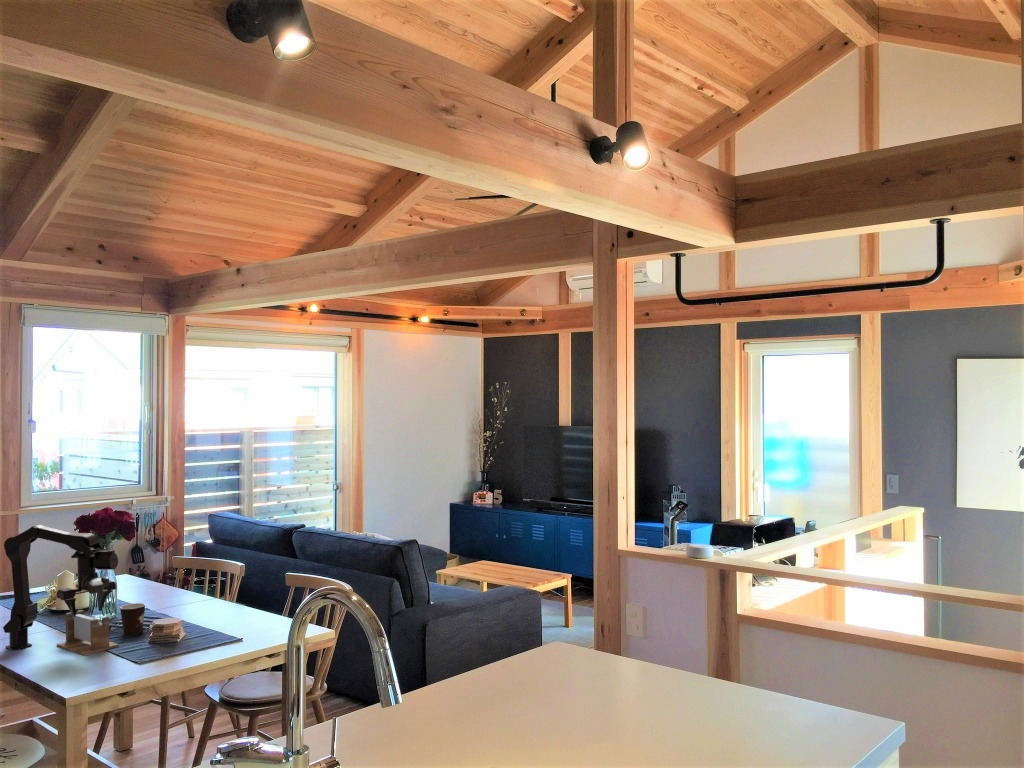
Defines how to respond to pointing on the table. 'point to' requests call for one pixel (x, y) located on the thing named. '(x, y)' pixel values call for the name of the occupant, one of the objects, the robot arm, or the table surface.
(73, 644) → the hinge frame
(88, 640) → the door
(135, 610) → the coffee mug
